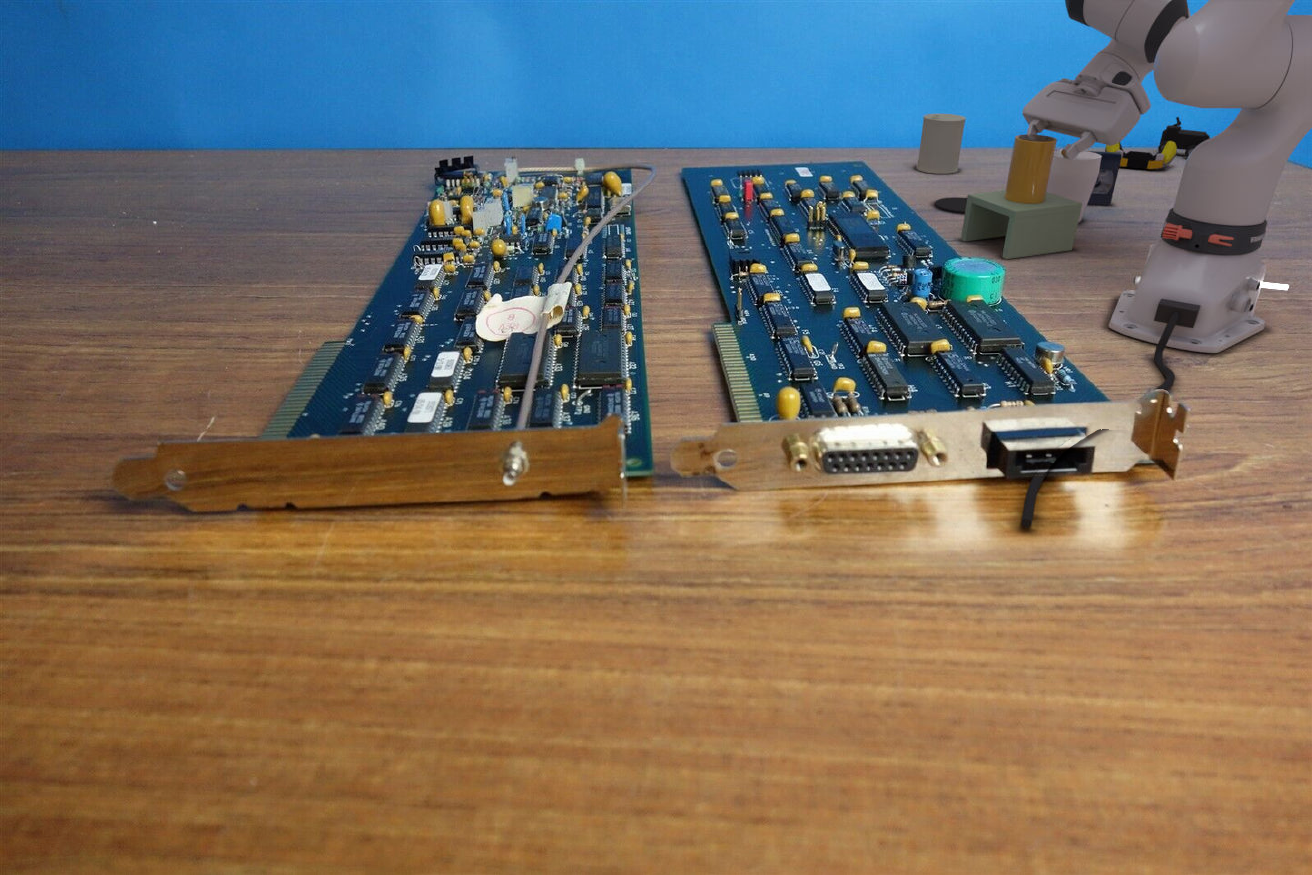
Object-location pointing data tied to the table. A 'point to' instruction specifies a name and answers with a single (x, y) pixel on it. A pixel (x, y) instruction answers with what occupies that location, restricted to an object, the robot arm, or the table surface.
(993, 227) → the shelf
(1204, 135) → the toy vehicle
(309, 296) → the table surface
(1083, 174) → the cup
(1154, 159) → the gaming controller
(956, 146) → the can
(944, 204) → the mat
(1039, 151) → the tumbler
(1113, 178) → the vhs cassette tape
